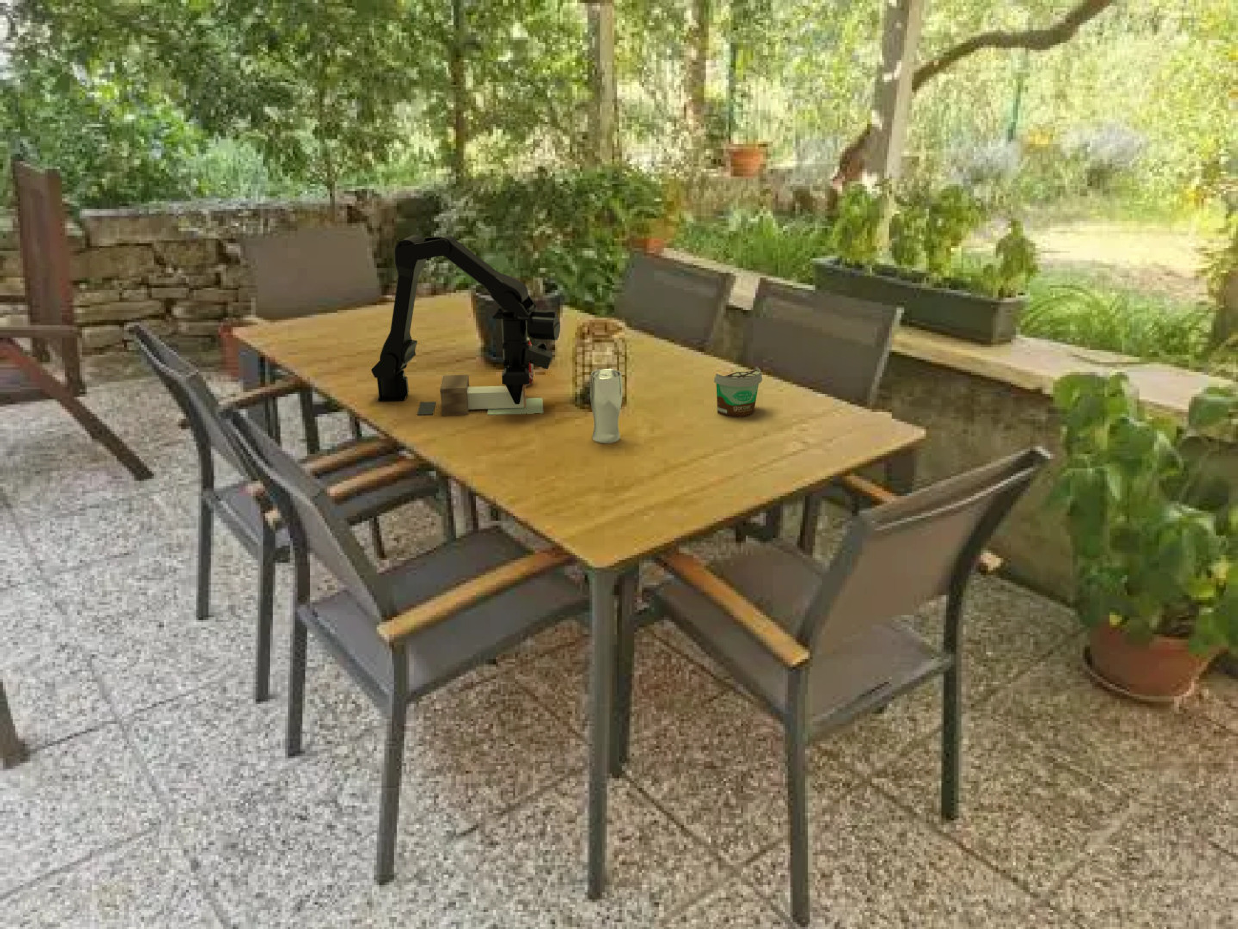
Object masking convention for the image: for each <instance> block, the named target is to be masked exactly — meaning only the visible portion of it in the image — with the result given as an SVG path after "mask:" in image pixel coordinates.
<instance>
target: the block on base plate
mask: <svg viewBox="0 0 1238 929" xmlns="http://www.w3.org/2000/svg"><path fill="white" fill-rule="evenodd" d="M526 391H527V390H526V387H525V384H524V385H523V388H522V394H521V399H520V404H515V403H514V401H513V399H512V397H511V395H510V393H509V391H508V389H507V387H506V385H495V386H494V385H493V386H491V385H490V386H469V387H468V388H467V397H468V410H488V409H495V408H524V407H526V398H527V394H526Z"/></svg>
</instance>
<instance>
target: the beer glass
mask: <svg viewBox="0 0 1238 929" xmlns="http://www.w3.org/2000/svg"><path fill="white" fill-rule="evenodd" d="M589 398H590V399H589V400H590V405H591V410H592V415H593V432H592V440H593V441H594V442H596V443H598V442H599V443H598V444H613V443H616V442H618V441H620V439H621V435H620V429H619V419H620V418H619V417H620V413H621V412H620V411H621V409H622V408H621V406H622V402H623V378H622V372H621V371H620V370H617V369H614V368H599V369H595V370H593V371H591V373H590V384H589Z"/></svg>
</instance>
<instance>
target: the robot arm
mask: <svg viewBox="0 0 1238 929" xmlns="http://www.w3.org/2000/svg"><path fill="white" fill-rule="evenodd" d="M442 256H443V257H444V258H446V259H447V260H449V262H451V263H453V265H455V266H456V267H457V268H459V269H460V270H462V271H463V272H464V273H465V274H467V275H468V276H469V277H471V278H472V279H473V280H475V281H476V282H477V283H478V284H480V285H481V286H482V287H484V288H485V289H486V291H487V292H488V294H489V295H490V297H491V299H492V300H493V301H494V302H495V303H497V305H498V306H499V308H498V309H497V311H496V313H494V314H493V315H492V317H491V318H492V319H495V320H501V332H502V333H501V334H502V343H501V344H502V345H501V346H502V354H503V356H502V359H503V362H502V363H503V370H502V371H501V384H502V385H503V386H506V387H507V389H508V391H509V393H510V395H511V397H512V399H513V401H514V403H515V404H520V399H521V394H522V388H523V385H524V384H529V383H530V378H529V362H530V363H531V364H533V366H537V367H541V368H542V369H543V370H548V369H549V367H550V364H551V362H552V360H553V352H552V351H551V350H550V349H548V346H547V343H545V342H542V341H539V343H538V344H537V345H535V344H534V345H532V346H531V345H529V341H530V340H527V337H528V336H529V338H531V339H532V340H544V341H545V340H547V341H558V339H560V338H559V337H560V333H561V321H560V319H559V316H558V311H557V310H556V309H549V310H546V309H538V308H539V307H538V306H537V304H536V303H535V301H534V300H533V298H532V297H531V296H530V294H529V291H528V287H527V286H526V284H525V283H524V282H521V281H520V280H518V279H516V278H515V277H512V276H510V275H507V274H504V273H502V272H499V271H498V270H496V269H495V268H493V267H492V266H491V265H489V264H488V262H485V261H484V260H483V259H481V258H480V257H479V256H478V255H476V254H475V253H474V252H473V251H471V250H470V249H469V248H467V247H466V246H465V245H464V244H462V243H461V242H459V241H458V239H456V237H455V236H453V235H451V234H447V235H444V236H430V237H429V236H428V237H423V236H421V235H418V234H414V235H411V236H408V237H406V238H404V239H402V240H400V241H398V242H397V243H396V244H395V246H394V267H395V269H396V272H397V281H396V287H395V288H396V289H395V296H394V303H393V310H392V318H391V324H390V331H389V334H388V336H387V338H386V339H385V341H384V343H383V346H382V348H381V351H380V355H379V361H378V362H377V363H376V364H375V365H374V366H373V367H372V368H371V369H370V371H371V373H372V375H373V377H374V378H375V379H376V380H377V392H378V398H377V401H378V402H395V401H396V402H397V401H401V402H403V401H406V398H407V396H408V395H409V392H410V389H409V379H408V376H406V373H405V369H406V368H407V367H408V364H409V363H410V362H411V361H412V360H413V359H414V357H416V355H417V353H416V348H417V344H418V340H415V339H413V338H412V335H411V328H412V322H413V315H414V307H415V301H416V294H417V290H418V289H417V287H418V282H419V277H420V274H421V272H422V271H423V269H424V267H425V264H426V262H427V259H430V258H431V259H432V258H436V257H442Z"/></svg>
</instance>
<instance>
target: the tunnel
mask: <svg viewBox="0 0 1238 929" xmlns="http://www.w3.org/2000/svg"><path fill="white" fill-rule="evenodd" d="M468 387H470V378H469V374H450V375H449V374H448V375H447V374H446V375H445V374H444V375H442V378H441V384H440V388H439V392H440V401H441V415H442V416H465V415H469V409H468V397H467V388H468Z"/></svg>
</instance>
